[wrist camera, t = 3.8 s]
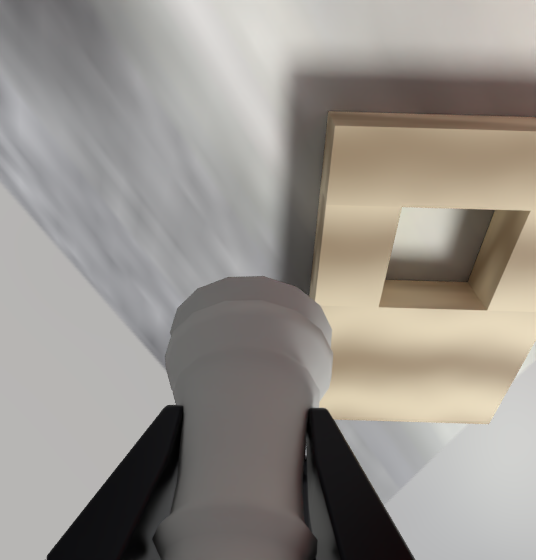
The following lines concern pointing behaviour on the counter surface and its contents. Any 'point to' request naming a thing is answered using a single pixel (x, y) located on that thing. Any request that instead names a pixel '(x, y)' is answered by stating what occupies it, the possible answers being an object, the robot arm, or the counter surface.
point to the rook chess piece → (244, 420)
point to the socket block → (424, 294)
